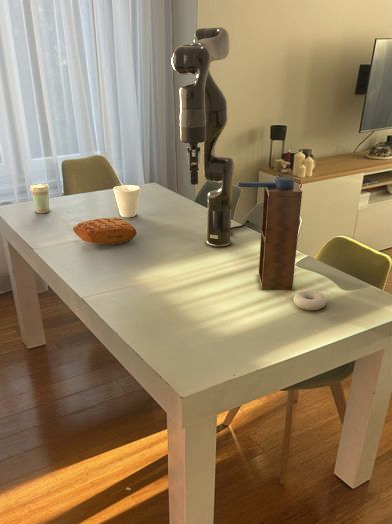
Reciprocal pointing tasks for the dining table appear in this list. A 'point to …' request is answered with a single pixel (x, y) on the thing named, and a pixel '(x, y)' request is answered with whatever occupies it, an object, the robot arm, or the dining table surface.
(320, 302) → the donut
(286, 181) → the blue elongated piece
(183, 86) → the robot arm
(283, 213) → the shelf
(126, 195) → the cup
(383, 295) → the dining table surface
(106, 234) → the cuneiform tablet
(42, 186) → the coffee cup
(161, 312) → the dining table surface
